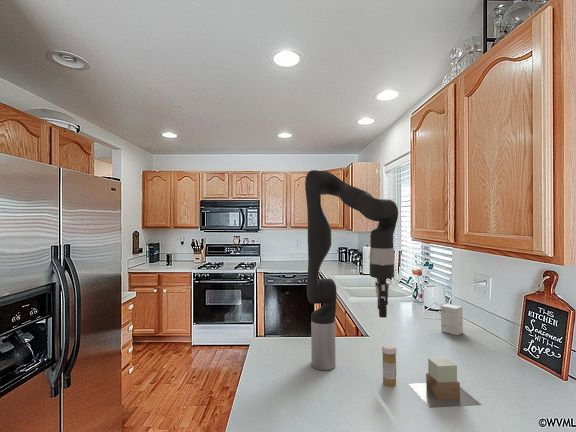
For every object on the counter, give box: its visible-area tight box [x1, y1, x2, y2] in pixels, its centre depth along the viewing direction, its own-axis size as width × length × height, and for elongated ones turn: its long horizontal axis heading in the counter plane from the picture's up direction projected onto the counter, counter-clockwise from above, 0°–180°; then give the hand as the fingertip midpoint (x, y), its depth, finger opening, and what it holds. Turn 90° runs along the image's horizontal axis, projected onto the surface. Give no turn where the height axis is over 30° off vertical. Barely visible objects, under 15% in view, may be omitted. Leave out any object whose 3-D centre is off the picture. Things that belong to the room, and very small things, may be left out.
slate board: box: [408, 382, 482, 409], centre depth 103 cm, size 14×16×1 cm
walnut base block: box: [425, 372, 461, 400], centre depth 103 cm, size 7×7×5 cm
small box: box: [440, 303, 464, 336], centre depth 163 cm, size 8×6×13 cm
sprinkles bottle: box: [381, 343, 397, 388], centre depth 110 cm, size 5×5×14 cm
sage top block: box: [427, 357, 458, 383], centre depth 103 cm, size 6×6×5 cm
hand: (381, 313), depth 103 cm, fingers open, 8 cm apart
